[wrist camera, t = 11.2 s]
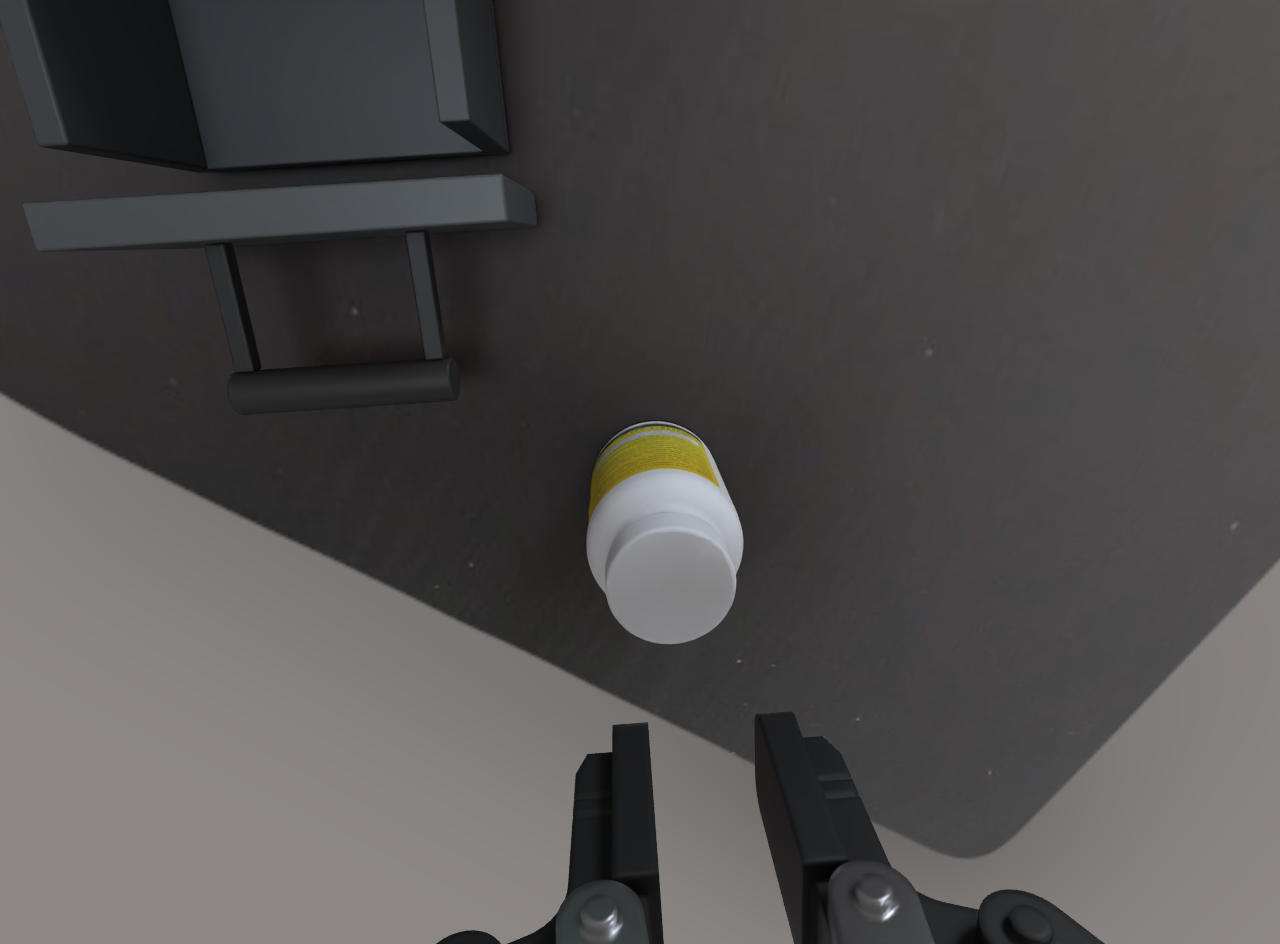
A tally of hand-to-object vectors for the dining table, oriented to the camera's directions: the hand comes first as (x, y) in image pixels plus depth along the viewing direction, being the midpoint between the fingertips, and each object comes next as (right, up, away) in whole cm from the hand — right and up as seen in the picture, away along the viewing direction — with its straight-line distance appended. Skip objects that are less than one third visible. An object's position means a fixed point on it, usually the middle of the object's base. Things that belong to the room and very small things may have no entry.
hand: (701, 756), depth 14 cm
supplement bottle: (-1, +5, +16) cm, 17 cm away
